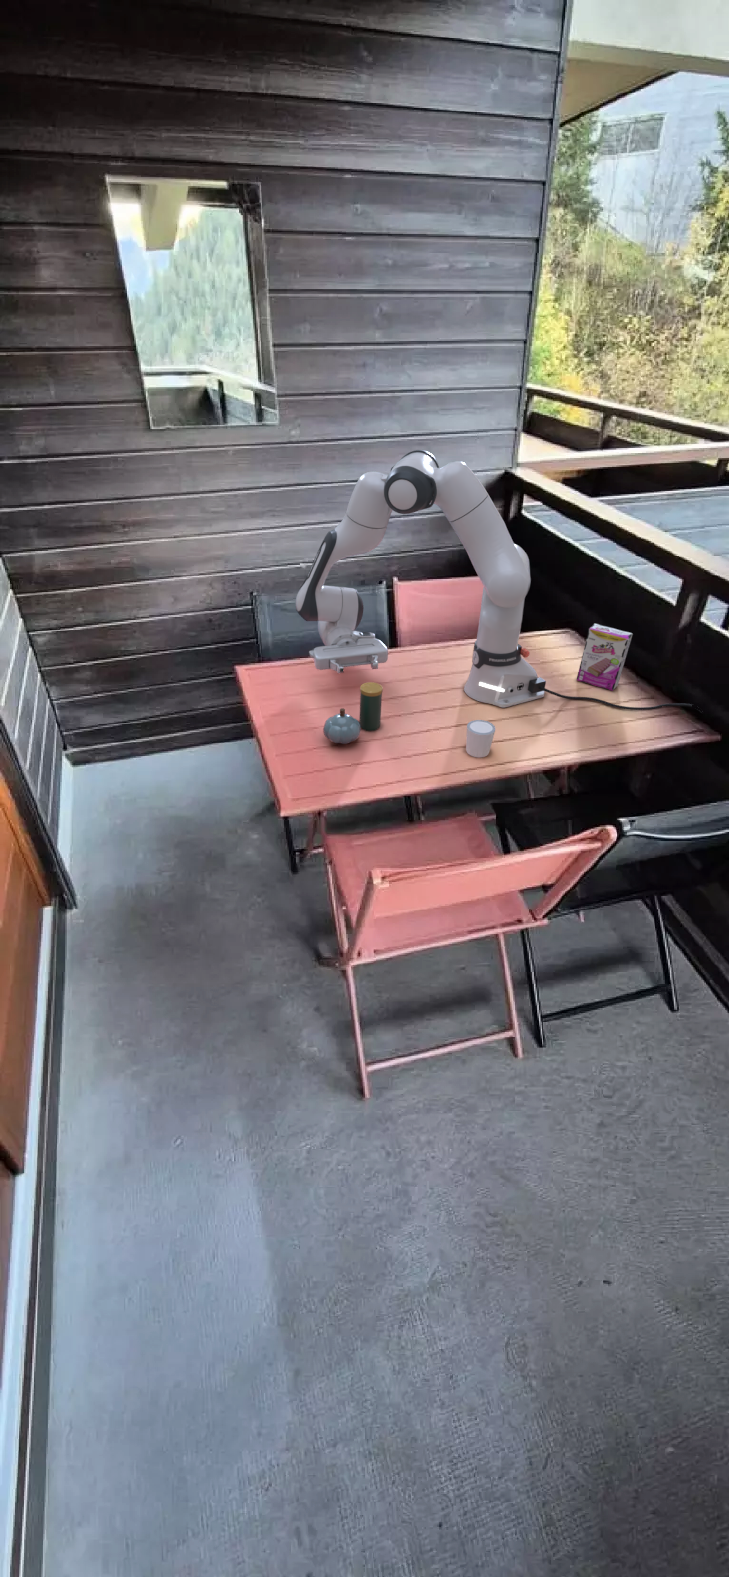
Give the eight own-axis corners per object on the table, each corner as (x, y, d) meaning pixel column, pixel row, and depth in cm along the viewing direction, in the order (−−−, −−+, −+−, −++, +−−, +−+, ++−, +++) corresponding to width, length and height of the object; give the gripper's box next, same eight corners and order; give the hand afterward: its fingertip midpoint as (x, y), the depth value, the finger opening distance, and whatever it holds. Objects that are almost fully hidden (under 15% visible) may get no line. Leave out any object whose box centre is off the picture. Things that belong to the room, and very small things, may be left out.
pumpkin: (354, 728, 179) (355, 697, 174) (365, 747, 172) (366, 716, 166) (319, 732, 176) (318, 702, 171) (328, 753, 169) (328, 721, 164)
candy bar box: (575, 681, 203) (588, 628, 194) (581, 674, 207) (593, 622, 197) (613, 692, 199) (628, 638, 189) (618, 685, 202) (633, 632, 192)
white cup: (490, 760, 169) (494, 736, 165) (462, 756, 170) (465, 732, 166) (492, 745, 174) (496, 721, 170) (464, 741, 175) (468, 717, 171)
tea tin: (376, 718, 183) (378, 681, 176) (383, 729, 179) (385, 691, 172) (356, 721, 182) (357, 683, 175) (362, 732, 177) (364, 694, 171)
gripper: (307, 639, 189) (319, 662, 179) (378, 632, 194) (395, 653, 184) (307, 660, 193) (319, 684, 182) (378, 653, 198) (393, 675, 188)
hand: (358, 668), depth 183 cm, fingers open, 8 cm apart
